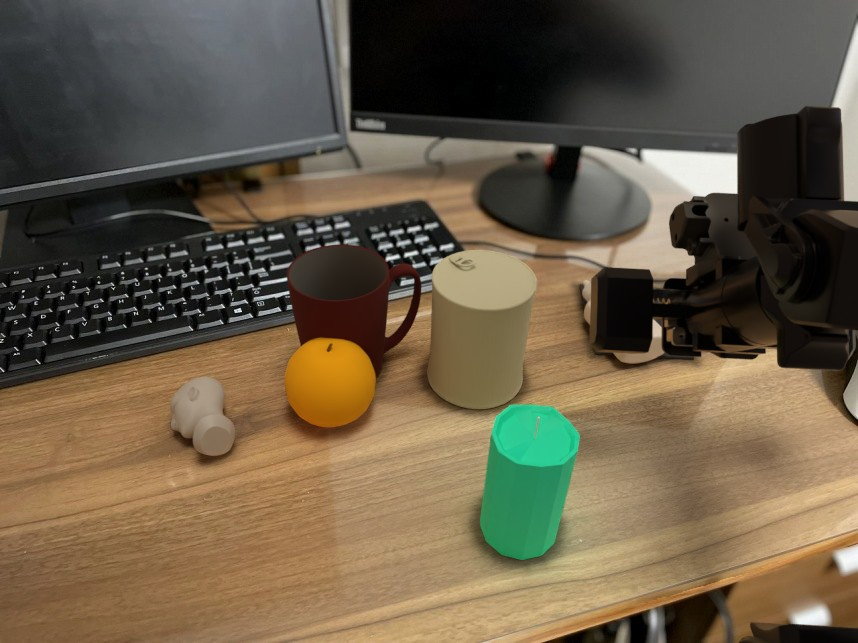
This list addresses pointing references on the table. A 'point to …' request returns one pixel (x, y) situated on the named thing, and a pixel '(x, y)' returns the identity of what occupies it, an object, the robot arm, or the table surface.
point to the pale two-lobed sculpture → (203, 416)
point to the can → (479, 327)
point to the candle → (527, 479)
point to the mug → (348, 298)
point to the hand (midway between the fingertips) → (678, 328)
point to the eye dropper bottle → (625, 357)
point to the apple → (330, 382)
